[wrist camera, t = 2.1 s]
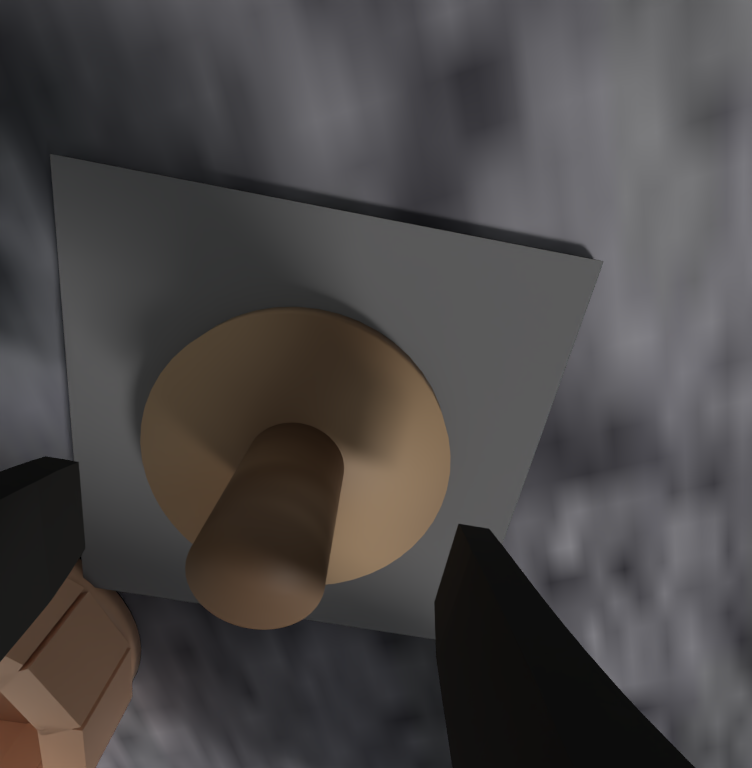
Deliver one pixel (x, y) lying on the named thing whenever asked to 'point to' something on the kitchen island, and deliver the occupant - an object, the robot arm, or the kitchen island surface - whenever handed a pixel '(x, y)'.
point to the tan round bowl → (68, 679)
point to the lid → (292, 459)
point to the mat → (309, 290)
